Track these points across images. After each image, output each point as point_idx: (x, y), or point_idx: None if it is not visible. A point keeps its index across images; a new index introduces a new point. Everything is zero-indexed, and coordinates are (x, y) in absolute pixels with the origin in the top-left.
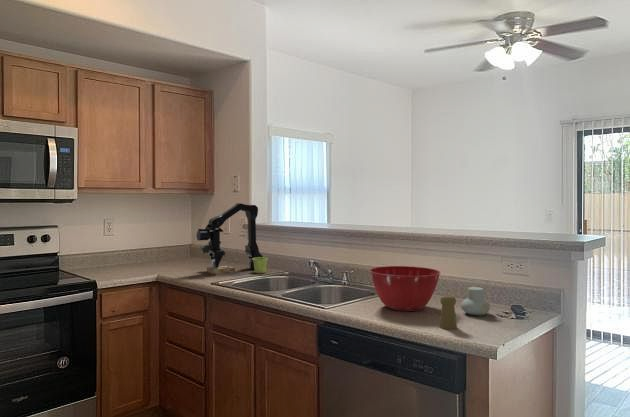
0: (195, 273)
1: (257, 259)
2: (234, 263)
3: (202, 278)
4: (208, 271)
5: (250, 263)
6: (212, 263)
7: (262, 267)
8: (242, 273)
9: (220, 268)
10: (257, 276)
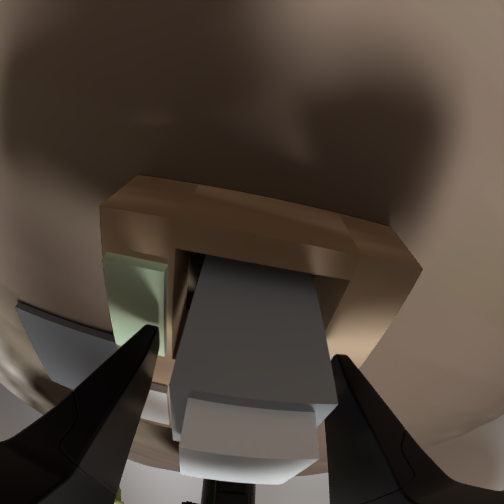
0: (434, 68)
1: (119, 494)
2: (444, 437)
3: (8, 12)
4: (315, 218)
5: (221, 484)
6: (217, 362)
7: None
8: (72, 377)
9: (115, 337)
10: (7, 363)
